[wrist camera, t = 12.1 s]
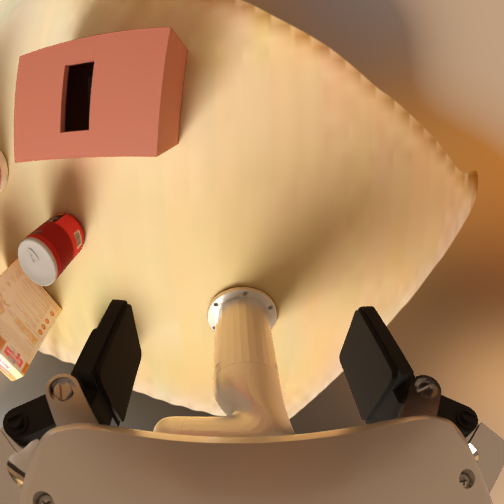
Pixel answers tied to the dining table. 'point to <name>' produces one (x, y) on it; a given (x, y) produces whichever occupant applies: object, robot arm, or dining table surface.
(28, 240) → the canned food
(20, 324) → the coffeecake box
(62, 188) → the dining table surface
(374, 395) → the robot arm
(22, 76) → the box
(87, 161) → the dining table surface
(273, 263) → the dining table surface
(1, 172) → the fruit juice
